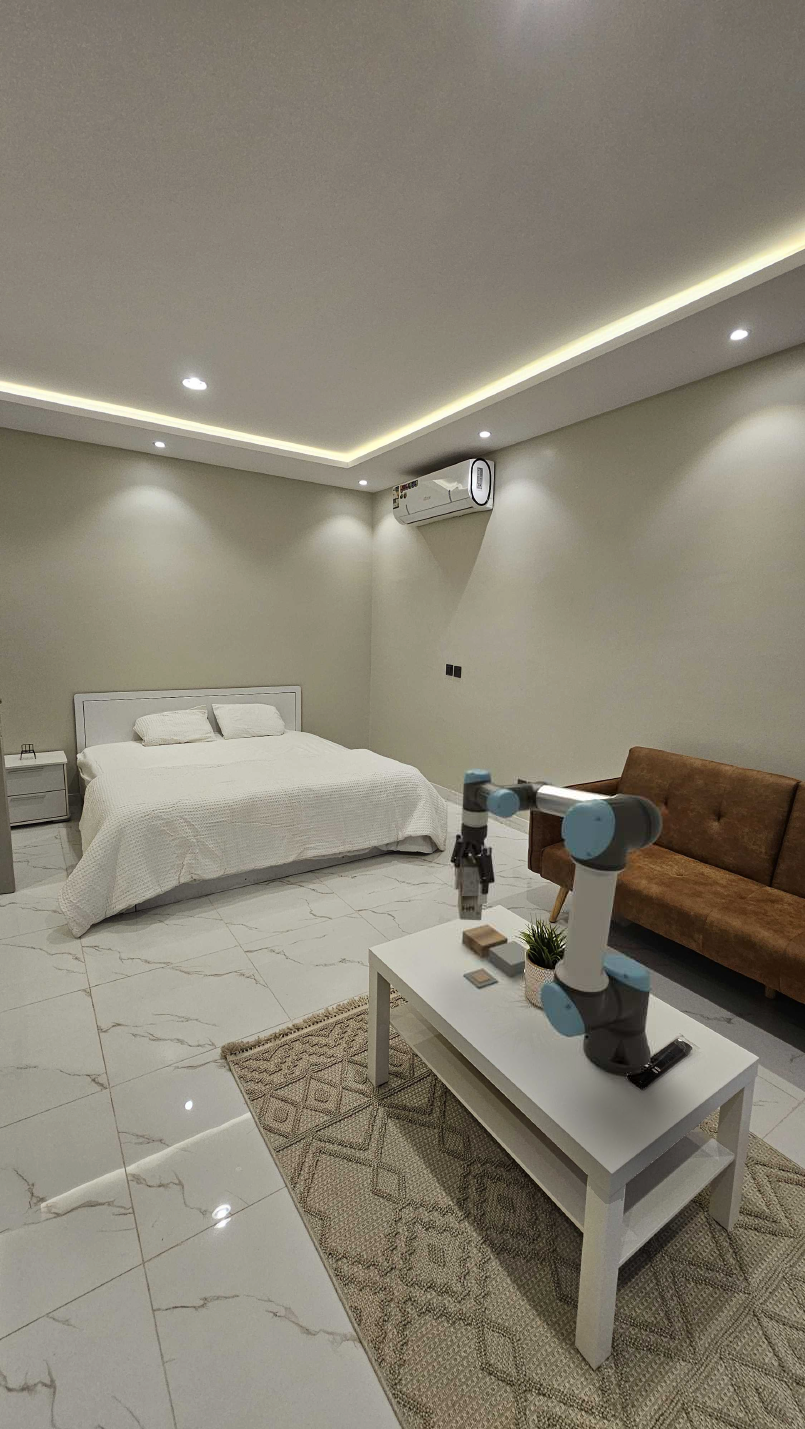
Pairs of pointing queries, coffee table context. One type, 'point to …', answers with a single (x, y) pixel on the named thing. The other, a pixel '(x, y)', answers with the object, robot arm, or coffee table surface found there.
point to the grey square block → (508, 958)
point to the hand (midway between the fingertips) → (470, 895)
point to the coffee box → (469, 890)
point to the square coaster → (480, 978)
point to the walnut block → (482, 939)
